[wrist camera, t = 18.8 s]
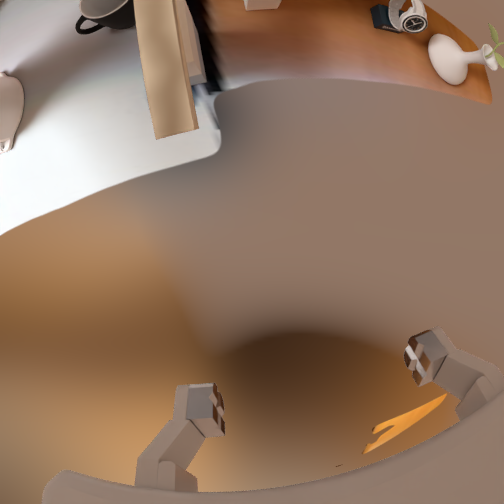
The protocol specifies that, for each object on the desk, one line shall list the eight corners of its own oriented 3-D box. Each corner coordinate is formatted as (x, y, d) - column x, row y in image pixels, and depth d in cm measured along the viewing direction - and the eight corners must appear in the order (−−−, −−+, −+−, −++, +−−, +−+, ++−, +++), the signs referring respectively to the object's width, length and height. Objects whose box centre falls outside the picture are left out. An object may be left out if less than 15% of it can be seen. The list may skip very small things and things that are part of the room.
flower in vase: (462, 90, 35) (554, 105, 13) (426, 77, 34) (529, 81, 12) (456, 38, 29) (543, 36, 7) (419, 21, 28) (511, 2, 6)
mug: (143, -15, 24) (125, -39, 15) (163, 15, 28) (147, -9, 19) (85, 24, 26) (56, 10, 17) (101, 55, 30) (72, 44, 21)
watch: (376, 36, 31) (410, 23, 22) (368, 1, 27) (399, -18, 18) (401, 42, 31) (437, 33, 22) (393, 7, 27) (427, -7, 18)
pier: (175, 89, 35) (145, 74, 21) (166, 41, 30) (135, 6, 16) (206, 82, 35) (194, 61, 21) (198, 33, 30) (182, -7, 16)
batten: (165, 136, 24) (155, 139, 21) (139, -30, 14) (131, -43, 10) (199, 128, 24) (194, 129, 21) (170, -39, 14) (164, -54, 10)
